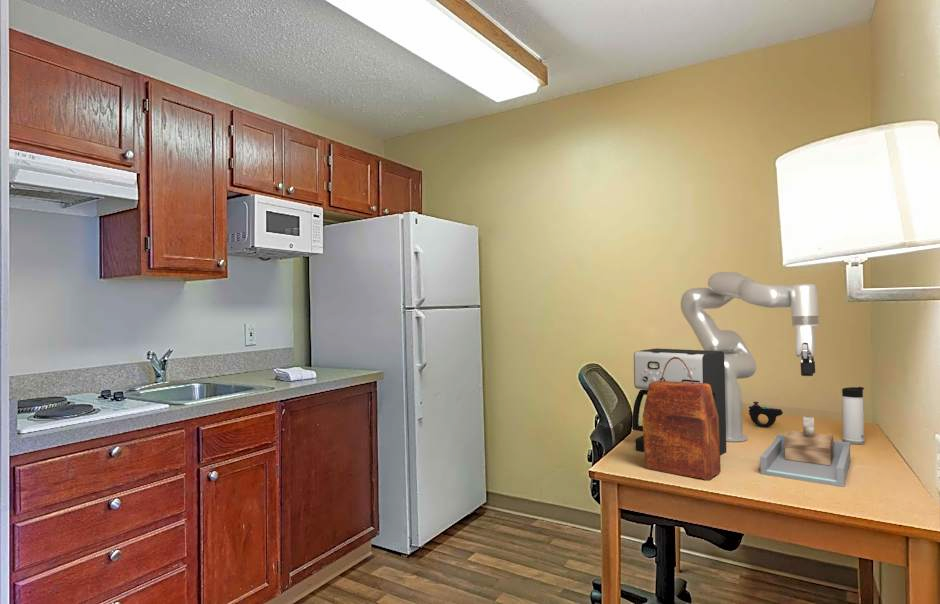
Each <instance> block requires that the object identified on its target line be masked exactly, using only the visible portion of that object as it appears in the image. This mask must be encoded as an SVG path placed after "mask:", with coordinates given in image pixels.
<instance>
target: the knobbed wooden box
mask: <svg viewBox="0 0 940 604" xmlns="http://www.w3.org/2000/svg"><path fill="white" fill-rule="evenodd" d="M802 425H803V426H802V429H803V430H802V431H796V430H789V431H788V432H787V433H786V434H785V435H786V436H785V443H784V445H785V459H787V460H794V461H801V462H808V463H816V464H823V465H830V466H831V463H832V461H833V458H834V450H833V446H834V441H835V440H834V435H833V434H832V435H831V434H823V433H816V432H815V417H814V416H805V415H804V416H802Z"/></svg>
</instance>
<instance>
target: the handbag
mask: <svg viewBox="0 0 940 604" xmlns="http://www.w3.org/2000/svg"><path fill="white" fill-rule="evenodd" d="M673 359H679V360H680V361H682V362H683V363H684V361H683V360H682V359H680V358H679V357H673V358H671V359H670V360H669V361H668V362H667V363H666V366H667V364H668V363H669V362H670V361H671V360H673ZM684 365H685V366H686V368H687V370H688V372H689V369H688V367H687V365H686V364H685V363H684ZM666 366H665V368H664V370H663V375H664V371H665V369H666ZM663 375H662V380H661V381H656V382H652V383H650V384H649V387H648V392H647V395H646V398H645V403H644V408H643V413H642V426H643V431H642V433H643V436H644V452H643V453H644V469H646V470H651V471H657V472H662V473H663V472H664V473H668V474H674V475H679V476H685V477H692V478H698V479H702V480H704V481H706V482H709V481H710V480H711V479H713V478H714V477H716V476H717V475H719V474H720V473H721V455H720V439H719V416H718V413H717V409H716V405H715V401H714V397H713V393H712V390H711V386H710V385H709V384H708V383H693V381H692V377H691V374H690V372H689V375H690V378H691V382H692V383H690V382H673V381H663Z"/></svg>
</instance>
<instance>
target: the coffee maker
mask: <svg viewBox="0 0 940 604" xmlns="http://www.w3.org/2000/svg"><path fill="white" fill-rule="evenodd" d="M673 357H679V358H680V359H682V360H683V361H684V363H685V364H686V365H687V367H688V369H689V372H690V374H691V377H692V381H693V383H708V384H709V385H710V386H711V390H712V393H713V397H714V401H715V405H716V409H717V413H718V416H719V439H720V456H722V455H724V454H725V453H727V441H726V408H725V363H724V352H723V351H705V350H704V349H703V350H700V349H681V348H680V349H679V348H678V349H677V348H676V349H675V348H649V349H642V350H636V351H635V352H634V353H633V375H634V376H633V379H634V381H633V382H634V383H633V385H634V388H635V389H639V391H638V393H637V396H636V397H635V401H634V404H633V411H632V416H631V417H632V418H631V429H632V431H635V432H636V431H637V432H638V431H639V432H643V425H640V424H639V418H640V410H641V404H642V401H643V399H644V396H647V392H648V387H649V384H650V383H652V382H656V381H661V380H662V375H663V370H664V368H665V366H666V363H667V362H668V361H669V360H670V359H671V358H673ZM684 363H683V362H682V361H680V360H679V359H673V360H671V361H670V362H669V363H668V364H667V366H666V369H665V371H664V375H663V381H673V382H690V383H692V382H691V378H690V375H689V372H688V370H687V368H686V366H685V365H684ZM634 441H635V451H636V452H640V453H644V435H641V436H639V437H636V438H635V440H634Z"/></svg>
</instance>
